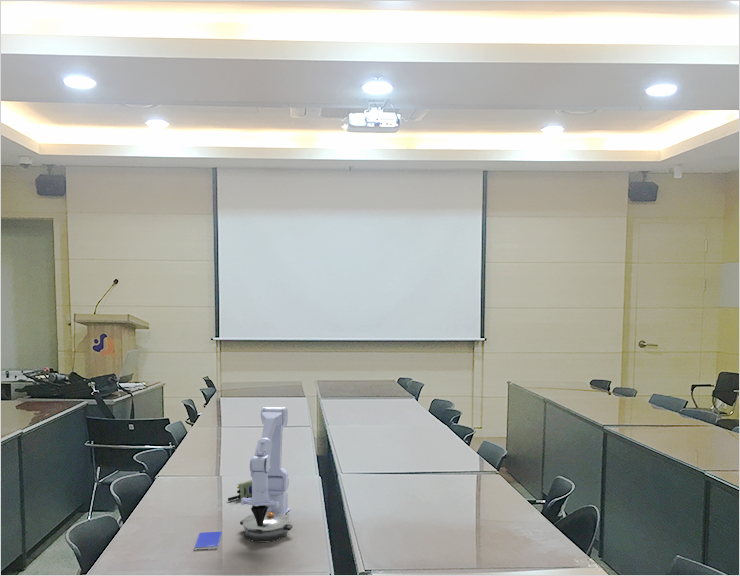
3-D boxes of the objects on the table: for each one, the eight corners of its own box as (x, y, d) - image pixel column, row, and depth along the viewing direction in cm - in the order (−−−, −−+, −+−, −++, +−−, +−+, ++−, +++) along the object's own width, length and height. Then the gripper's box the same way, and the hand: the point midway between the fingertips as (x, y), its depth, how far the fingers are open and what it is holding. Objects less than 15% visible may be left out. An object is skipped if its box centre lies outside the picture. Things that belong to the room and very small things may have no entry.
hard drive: (217, 546, 216) (221, 531, 228) (194, 547, 215) (199, 532, 227) (217, 550, 216) (221, 535, 228) (194, 551, 215) (199, 536, 227)
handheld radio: (279, 489, 276) (230, 503, 259) (274, 487, 278) (226, 501, 261) (278, 474, 276) (230, 487, 259) (274, 473, 278) (226, 486, 261)
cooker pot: (253, 519, 241) (252, 509, 241) (300, 525, 235) (300, 515, 235) (231, 538, 224) (231, 527, 224) (282, 545, 218) (282, 534, 218)
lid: (255, 511, 239) (255, 506, 239) (295, 515, 235) (295, 510, 235) (233, 530, 222) (233, 524, 222) (276, 535, 217) (275, 529, 217)
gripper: (237, 490, 222) (237, 527, 222) (273, 494, 218) (273, 531, 218) (246, 484, 229) (246, 519, 229) (281, 487, 225) (281, 523, 225)
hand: (260, 525), depth 224 cm, fingers closed
